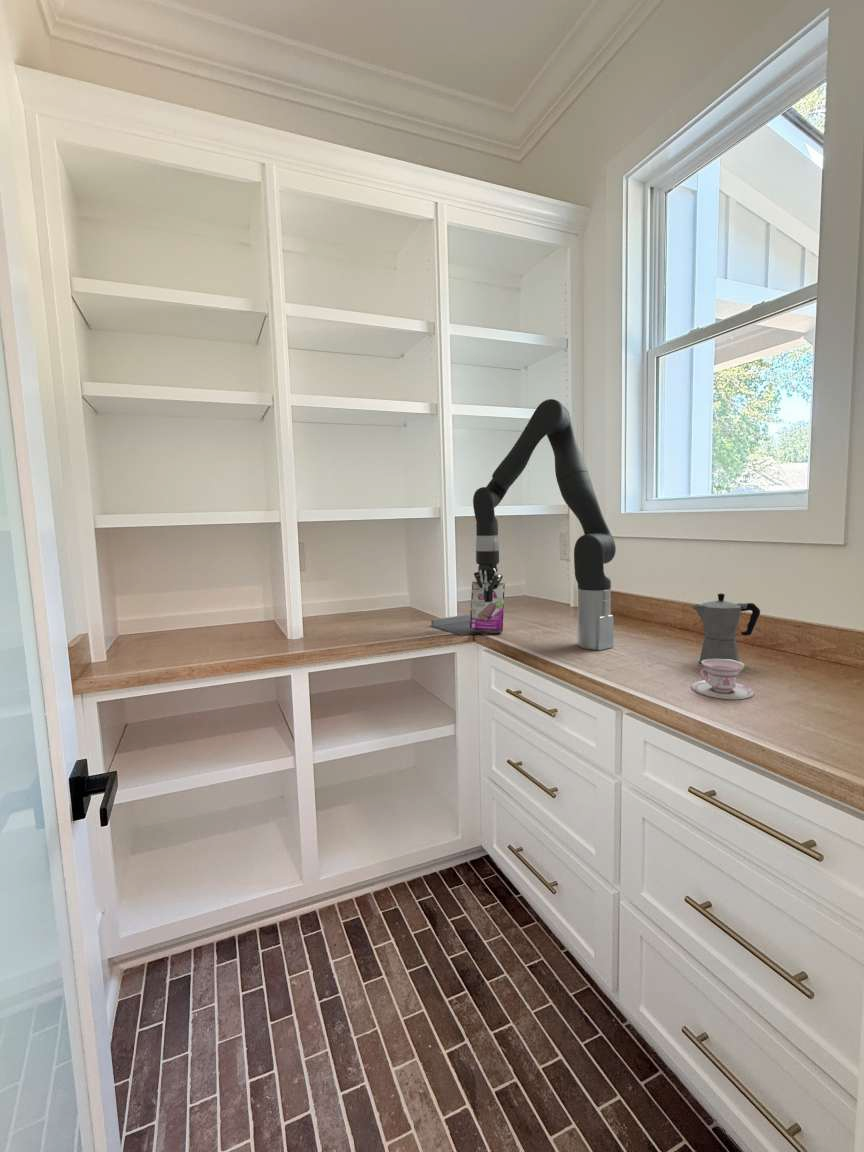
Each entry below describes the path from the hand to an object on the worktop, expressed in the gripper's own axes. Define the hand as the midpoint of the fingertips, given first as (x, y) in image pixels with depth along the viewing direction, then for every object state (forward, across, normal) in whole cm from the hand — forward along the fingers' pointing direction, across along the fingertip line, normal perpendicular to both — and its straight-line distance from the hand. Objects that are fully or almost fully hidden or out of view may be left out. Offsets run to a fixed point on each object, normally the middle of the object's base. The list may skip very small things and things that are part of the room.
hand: (488, 601), depth 175 cm
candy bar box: (+10, +2, 0) cm, 11 cm away
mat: (+11, +14, 0) cm, 18 cm away
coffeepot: (+11, -64, -27) cm, 70 cm away
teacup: (+11, -75, -7) cm, 76 cm away
